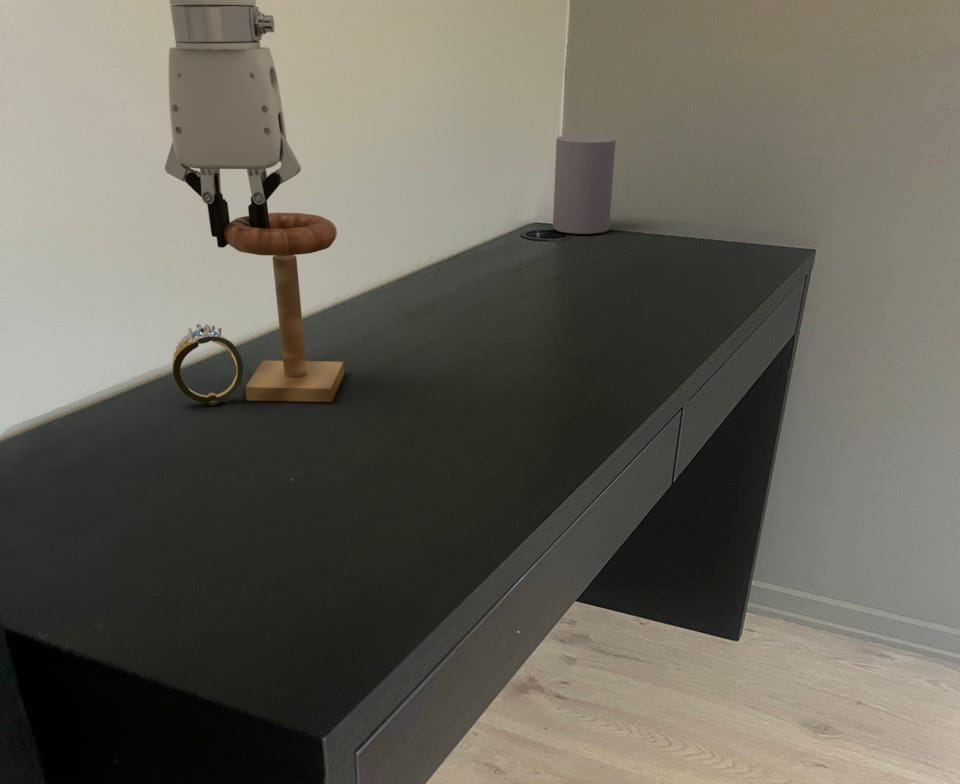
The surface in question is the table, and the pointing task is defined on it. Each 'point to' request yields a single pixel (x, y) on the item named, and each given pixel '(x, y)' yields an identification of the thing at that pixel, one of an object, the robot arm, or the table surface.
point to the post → (292, 351)
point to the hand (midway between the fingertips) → (242, 243)
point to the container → (583, 184)
